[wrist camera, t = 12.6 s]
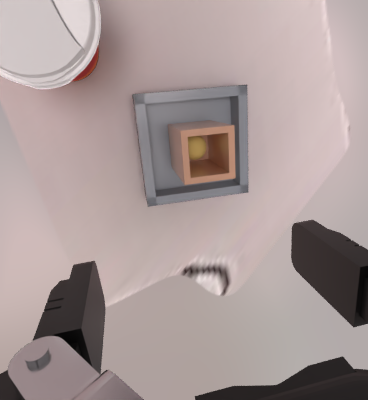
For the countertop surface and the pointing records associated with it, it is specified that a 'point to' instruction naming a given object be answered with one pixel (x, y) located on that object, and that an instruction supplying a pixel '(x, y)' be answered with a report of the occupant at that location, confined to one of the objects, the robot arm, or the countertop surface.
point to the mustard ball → (196, 147)
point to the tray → (180, 113)
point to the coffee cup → (48, 41)
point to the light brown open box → (214, 156)
